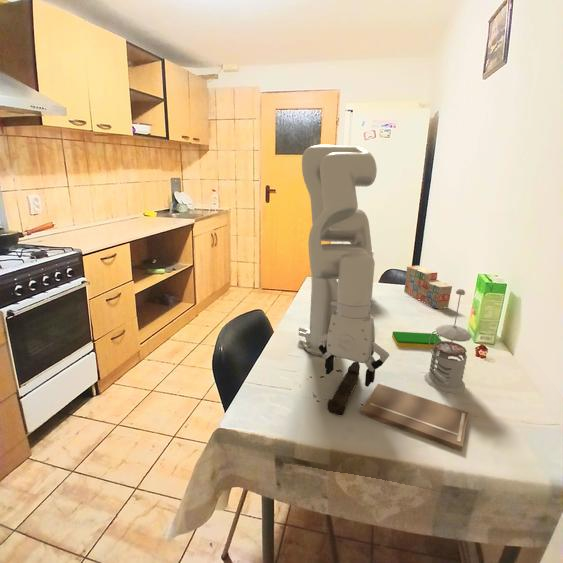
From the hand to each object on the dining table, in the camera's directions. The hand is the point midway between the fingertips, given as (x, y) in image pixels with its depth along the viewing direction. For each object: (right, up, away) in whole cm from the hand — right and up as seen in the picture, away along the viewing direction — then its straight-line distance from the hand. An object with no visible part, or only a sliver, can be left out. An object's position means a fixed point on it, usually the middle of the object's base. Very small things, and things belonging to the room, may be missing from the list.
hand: (348, 377), depth 83 cm
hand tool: (0, -4, +3) cm, 5 cm away
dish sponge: (+27, +3, +28) cm, 39 cm away
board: (+13, -7, -5) cm, 16 cm away
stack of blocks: (+45, +15, +67) cm, 82 cm away
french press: (+26, -3, +9) cm, 28 cm away
